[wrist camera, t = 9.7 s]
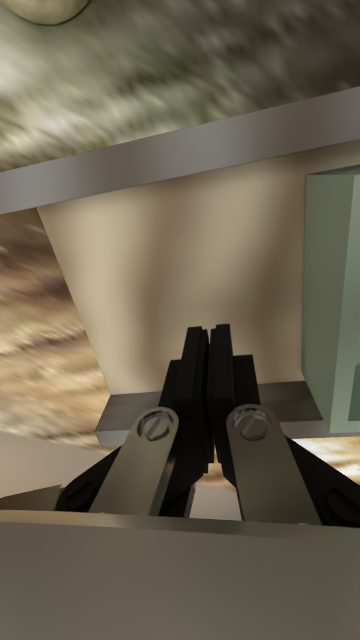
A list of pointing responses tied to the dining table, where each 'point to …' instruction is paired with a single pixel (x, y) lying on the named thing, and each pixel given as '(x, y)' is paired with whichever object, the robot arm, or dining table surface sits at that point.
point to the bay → (193, 247)
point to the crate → (333, 296)
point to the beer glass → (45, 10)
